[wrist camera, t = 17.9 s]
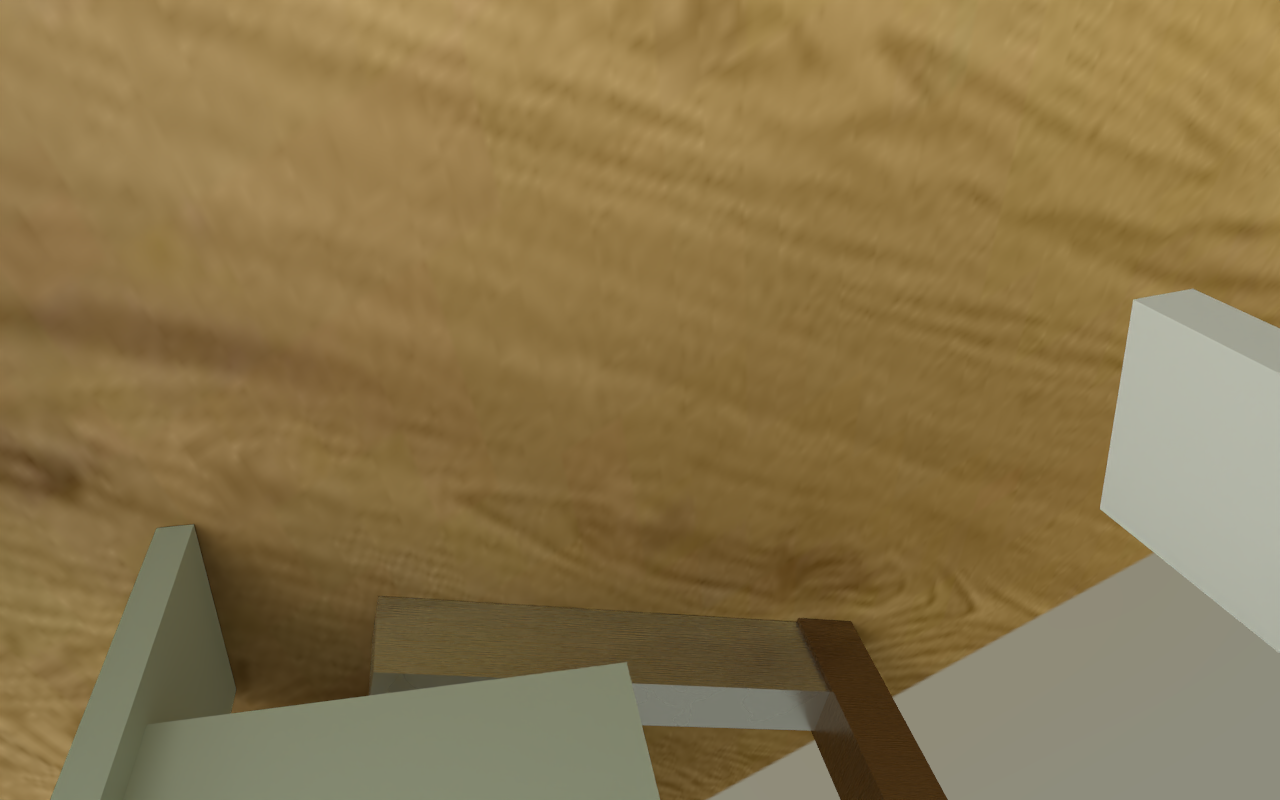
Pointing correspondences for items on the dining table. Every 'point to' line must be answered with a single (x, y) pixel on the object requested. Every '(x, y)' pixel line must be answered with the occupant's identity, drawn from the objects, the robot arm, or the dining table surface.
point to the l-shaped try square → (676, 675)
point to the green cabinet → (333, 722)
